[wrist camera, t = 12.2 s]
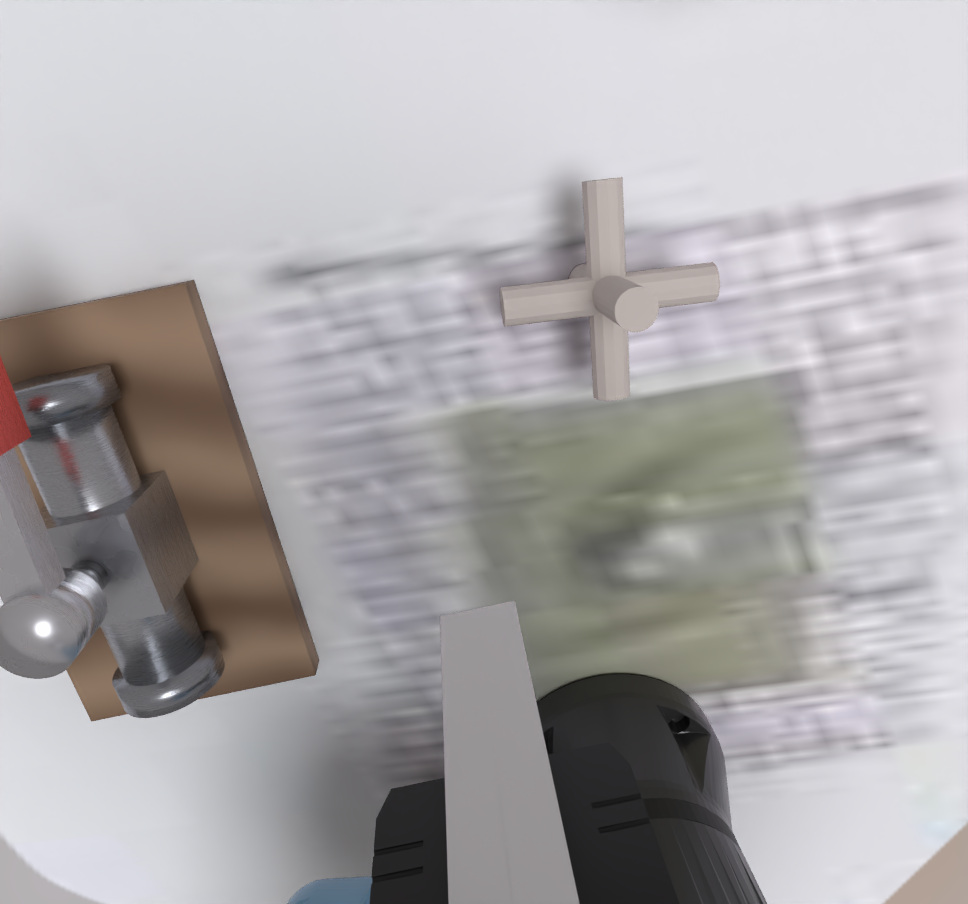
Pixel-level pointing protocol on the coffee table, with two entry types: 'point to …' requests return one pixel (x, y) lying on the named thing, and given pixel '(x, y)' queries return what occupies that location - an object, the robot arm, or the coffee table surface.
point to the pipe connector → (609, 291)
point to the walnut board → (179, 476)
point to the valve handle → (36, 570)
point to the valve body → (119, 538)
